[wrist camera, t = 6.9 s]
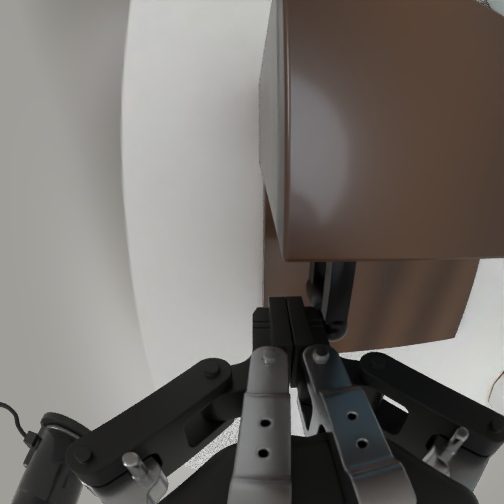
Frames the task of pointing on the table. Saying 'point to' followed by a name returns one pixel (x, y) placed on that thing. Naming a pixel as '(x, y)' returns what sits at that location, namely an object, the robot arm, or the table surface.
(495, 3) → the vase
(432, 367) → the table surface
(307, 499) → the robot arm
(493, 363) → the table surface
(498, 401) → the cup
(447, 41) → the window frame
